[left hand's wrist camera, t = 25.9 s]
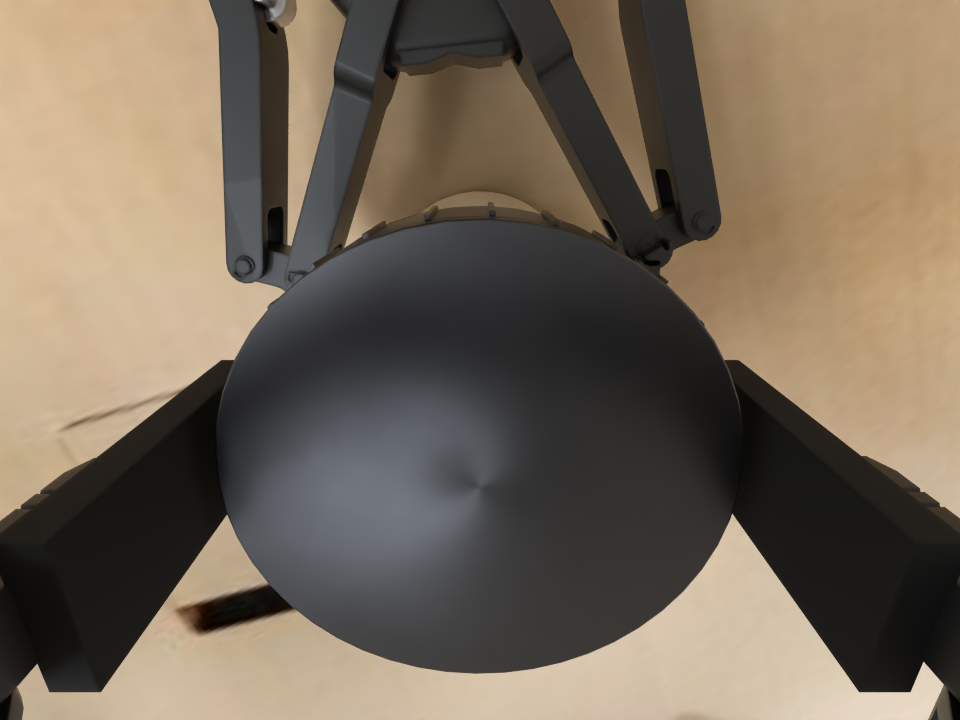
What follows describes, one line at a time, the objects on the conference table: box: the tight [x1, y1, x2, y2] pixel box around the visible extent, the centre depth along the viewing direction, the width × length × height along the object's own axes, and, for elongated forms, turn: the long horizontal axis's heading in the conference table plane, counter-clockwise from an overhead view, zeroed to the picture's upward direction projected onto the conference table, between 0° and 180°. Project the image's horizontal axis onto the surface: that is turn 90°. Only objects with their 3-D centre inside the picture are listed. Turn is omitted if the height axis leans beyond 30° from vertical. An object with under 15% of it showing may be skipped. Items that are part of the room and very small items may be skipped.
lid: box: [215, 202, 744, 674], centre depth 11 cm, size 10×10×2 cm
